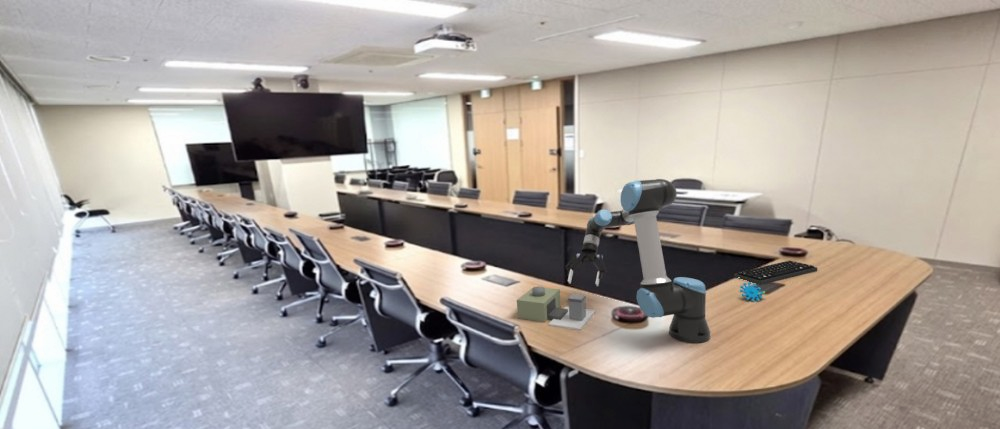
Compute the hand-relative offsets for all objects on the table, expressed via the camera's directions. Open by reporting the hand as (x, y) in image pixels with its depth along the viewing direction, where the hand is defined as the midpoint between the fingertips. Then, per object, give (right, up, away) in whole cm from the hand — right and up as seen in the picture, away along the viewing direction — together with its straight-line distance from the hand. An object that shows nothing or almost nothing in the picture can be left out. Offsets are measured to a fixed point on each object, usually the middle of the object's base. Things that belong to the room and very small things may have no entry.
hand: (582, 283), depth 197 cm
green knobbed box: (-13, -15, 0) cm, 20 cm away
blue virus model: (+83, -8, +3) cm, 83 cm away
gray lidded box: (-3, -15, -6) cm, 16 cm away
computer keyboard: (+116, -2, +36) cm, 121 cm away
